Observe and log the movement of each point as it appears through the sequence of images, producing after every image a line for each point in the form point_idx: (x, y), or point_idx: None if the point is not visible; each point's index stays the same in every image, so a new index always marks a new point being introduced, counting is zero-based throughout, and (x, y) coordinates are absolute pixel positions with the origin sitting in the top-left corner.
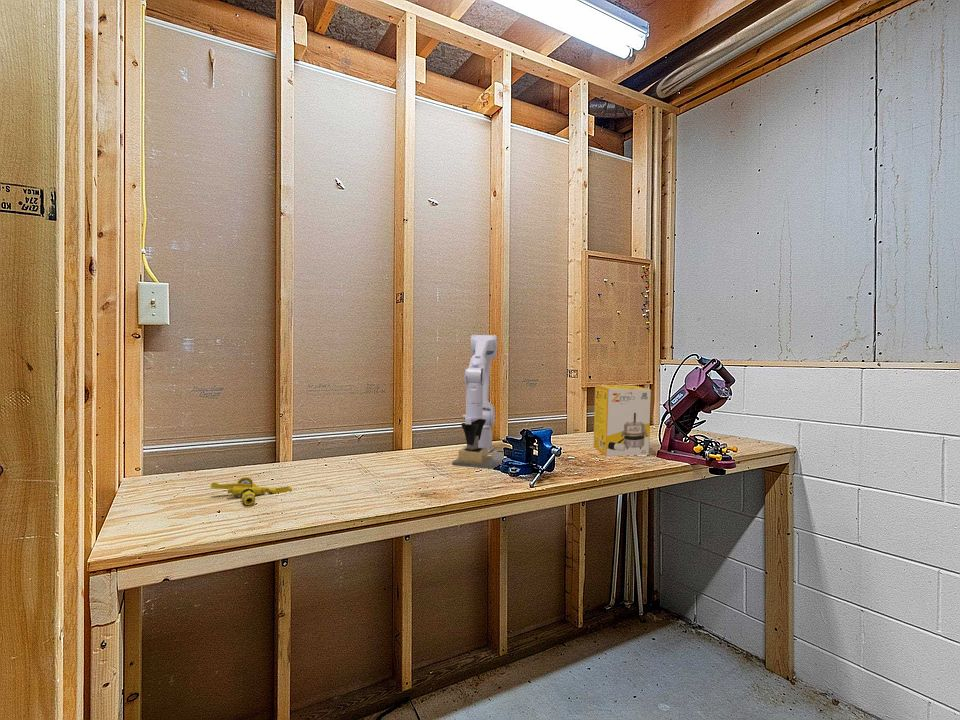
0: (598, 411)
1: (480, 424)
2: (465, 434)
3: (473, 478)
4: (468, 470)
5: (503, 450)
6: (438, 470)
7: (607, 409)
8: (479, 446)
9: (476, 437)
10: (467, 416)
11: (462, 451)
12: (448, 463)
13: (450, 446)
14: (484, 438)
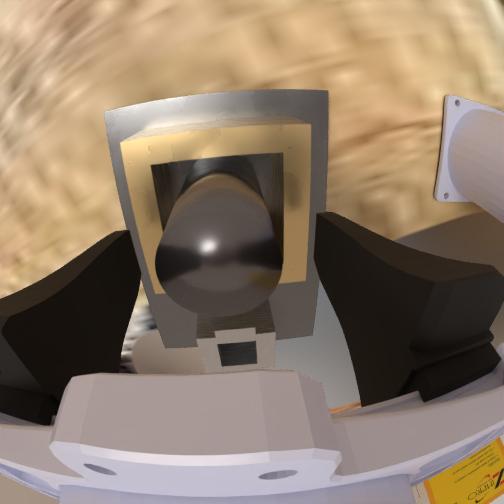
0: (479, 458)
1: (365, 376)
2: (57, 275)
3: (14, 282)
4: (71, 228)
5: (267, 357)
6: (8, 115)
7: (429, 498)
8: (462, 162)
9: (192, 308)
10: (51, 481)
11: (126, 171)
12: (136, 71)
13: (494, 13)
14: (493, 204)
